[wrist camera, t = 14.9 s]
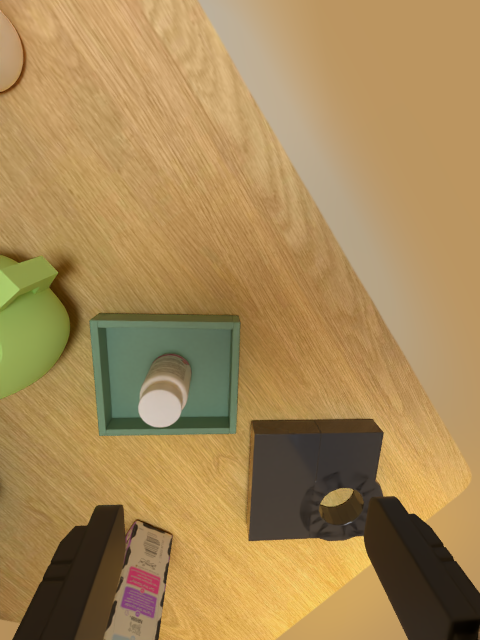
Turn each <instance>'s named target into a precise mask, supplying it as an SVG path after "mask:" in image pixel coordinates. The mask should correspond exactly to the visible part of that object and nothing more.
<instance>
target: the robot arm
mask: <svg viewBox="0 0 480 640" xmlns="http://www.w3.org/2000/svg"><path fill="white" fill-rule="evenodd" d="M364 543H365V548H366V551H367V554H368V556H369V559H370V561H371V563H372V565H373V567H374V569H375V571H376V573H377V575H378V577H379V579H380V581H381V583H382V586H383V588H384V590H385V592H386V594H387V596H388V598H389V600H390V602H391V604H392V606H393V609H394V611H395V613H396V615H397V617H398V619H399V621H400V623H401V625H402V627H403V629H404V631H405V633H406V636H407V638H408V640H480V593H479V592H478V590H477V589H476V588H475V586H474V585H473V584H472V582H471V581H470V580H469V578H468V577H467V576H466V574H465V573H464V571H463V570H462V569H461V567H460V566H459V565H458V563H457V562H456V561H454V559H453V556H452V555H451V554H450V553H449V551H448V550H447V548H446V547H444V546H443V543H442V542H441V540H440V539H439V538H438V536H437V535H436V534H435V533H434V531H433V530H432V528H431V527H430V526H429V525H427V524H426V523H425V522H424V521H423V520H421V519H420V518H419V517H418V516H417V515H415V514H408V512H407V511H406V510H405V508H404V507H403V505H402V504H401V502H400V501H399V500H398V499H397V498H396V497H394V496H389V497H372V498H371V499H370V501H369V506H368V512H367V518H366V524H365V530H364ZM125 549H126V539H125V524H124V510H123V505H98V506H96V508H95V509H94V512H93V514H92V516H91V519H90V521H89V523H88V526H75V527H74V528H73V529H72V530H71V531H70V532H69V534H68V535H67V536H66V537H65V538H64V539H63V540H62V541H61V542H60V544H59V546H58V548H57V550H56V552H55V554H54V556H53V558H52V560H51V564H50V565H49V566H48V568H47V570H46V572H45V574H44V576H43V580H42V582H41V583H40V585H39V587H38V589H37V591H36V593H35V595H34V597H33V599H32V601H31V603H30V605H29V607H28V609H27V611H26V613H25V615H24V617H23V619H22V621H21V623H20V625H19V627H18V629H17V631H16V633H15V635H14V638H13V639H12V640H103V639H104V635H105V631H106V627H107V624H108V620H109V616H110V613H111V609H112V605H113V601H114V598H115V594H116V590H117V587H118V583H119V579H120V575H121V572H122V568H123V564H124V558H125Z"/></svg>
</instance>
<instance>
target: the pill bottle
mask: <svg viewBox="0 0 480 640" xmlns="http://www.w3.org/2000/svg"><path fill="white" fill-rule="evenodd" d="M190 380H191V367H190V365H189V363H188V362H187V360H186V359H185V358H183V357H182V356H180V355H177V354H172V353H170V354H164V355H161V356H159V357H158V358H157V359H155V361H154V362H153V363H152V365H151V367H150V370H149V372H148V374H147V376H146V378H145V381H144V383H143V385H142V387H141V390H140V402H139V405H138V411H139V414H140V417H141V418H142V420H143V421H144V422H145V423H147V424H149V425H151V426H153V427H159V428H160V427H167V426H170V425H172V424H173V423H175V422H176V421H177V420H178V418H179V417H180V414H181V411H182V409H183V408H184V407H185V405H186V402H187V399H188V393H189V387H190Z"/></svg>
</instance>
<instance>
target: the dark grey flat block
mask: <svg viewBox="0 0 480 640" xmlns="http://www.w3.org/2000/svg"><path fill="white" fill-rule="evenodd" d="M383 434H384V432H383V431H382V430H381V429H380V428H379V427H378V425H377V424H376V423H375V422H374V421H373V419H357V420H279V421H252V425H251V444H250V463H249V483H248V502H247V521H246V522H247V531H248V539H249V541H262V540H284V539H307V538H320V539H324V540H327V541H340V540H347V539H350V538H352V537H355V536H364V530H365V524H366V518H367V512H368V506H369V501H370V499H371V498H372V497H383V494H382V490H381V487H380V485H379V483H378V482H377V480H376V474H377V469H378V463H379V457H380V451H381V445H382V439H383ZM339 488H351V489H354V493H353V494H352V496H351V497H350V499H349V500H348V501H346V502H345V503H344V504H342V505H339V506H337V507H325V506H322V505H320V503H321V501H322V500H323V498H324V497H325V496H326V495H327V494H328V493H330V492H331V491H333V490H336V489H339Z"/></svg>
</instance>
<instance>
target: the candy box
mask: <svg viewBox="0 0 480 640" xmlns="http://www.w3.org/2000/svg"><path fill="white" fill-rule="evenodd" d="M172 537H173V536H172V535H170V534H168V533H166V532H164V531H161V530H158V529H156V528H154V527H151V526H149V525H147V524H145V523H143V522H140V521H135V523H134V524H133V525H132V527H131V528H130V530H129V531H128V533H127V535H126V536H125V539H126V549H125V558H124V564H123V568H122V572H121V575H120V579H119V583H118V587H117V590H116V594H115V598H114V601H113V605H112V609H111V613H110V616H109V620H108V624H107V627H106V631H105V635H104V639H103V640H158V638H159V631H160V624H161V617H162V609H163V602H164V595H165V587H166V579H167V573H168V566H169V559H170V551H171V544H172Z"/></svg>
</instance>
